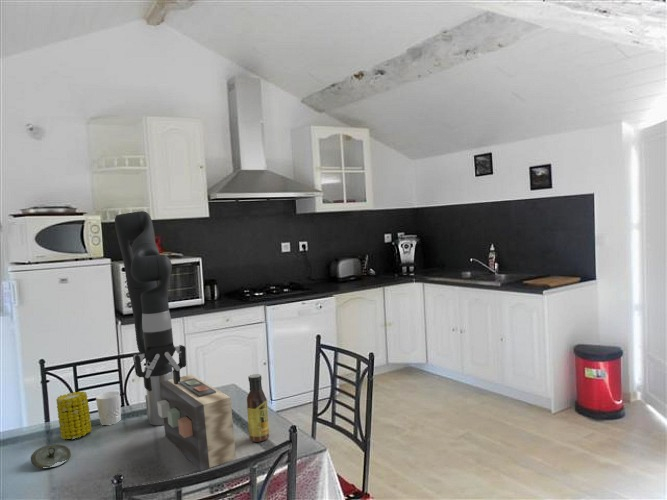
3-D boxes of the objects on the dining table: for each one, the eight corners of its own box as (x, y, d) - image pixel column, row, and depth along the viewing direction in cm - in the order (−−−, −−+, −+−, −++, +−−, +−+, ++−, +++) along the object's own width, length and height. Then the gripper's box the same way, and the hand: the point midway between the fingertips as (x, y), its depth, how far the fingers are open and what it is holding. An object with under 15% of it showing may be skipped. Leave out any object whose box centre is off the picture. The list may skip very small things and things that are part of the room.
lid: (61, 452, 162) (59, 436, 162) (77, 458, 157) (76, 442, 156) (25, 466, 154) (23, 450, 154) (42, 474, 148) (40, 457, 148)
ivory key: (162, 418, 160) (161, 405, 160) (158, 414, 164) (157, 401, 163) (170, 416, 162) (169, 402, 161) (166, 412, 165) (165, 399, 165)
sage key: (172, 427, 152) (171, 413, 152) (168, 423, 155) (166, 409, 155) (181, 425, 153) (179, 411, 153) (176, 421, 157) (175, 407, 157)
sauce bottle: (265, 443, 157) (260, 379, 156) (246, 442, 159) (240, 379, 157) (272, 434, 164) (267, 372, 162) (254, 433, 165) (248, 372, 164)
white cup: (103, 419, 188) (100, 392, 188) (125, 417, 189) (122, 390, 188) (95, 428, 181) (92, 400, 180) (118, 425, 181) (115, 397, 181)
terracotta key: (184, 438, 144) (182, 423, 144) (179, 433, 147) (177, 419, 147) (192, 435, 145) (191, 420, 145) (187, 430, 149) (186, 416, 148)
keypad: (200, 470, 143) (194, 404, 141) (165, 435, 169) (159, 379, 168) (235, 458, 149) (230, 394, 147) (196, 426, 175) (191, 371, 174)
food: (66, 448, 169) (61, 440, 177) (103, 429, 176) (96, 422, 184) (49, 406, 166) (45, 400, 175) (87, 389, 173) (81, 384, 181)
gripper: (133, 334, 135) (140, 397, 136) (187, 324, 143) (193, 383, 144) (126, 331, 141) (132, 390, 142) (178, 321, 149) (184, 378, 150)
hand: (163, 386), depth 143 cm, fingers open, 7 cm apart
